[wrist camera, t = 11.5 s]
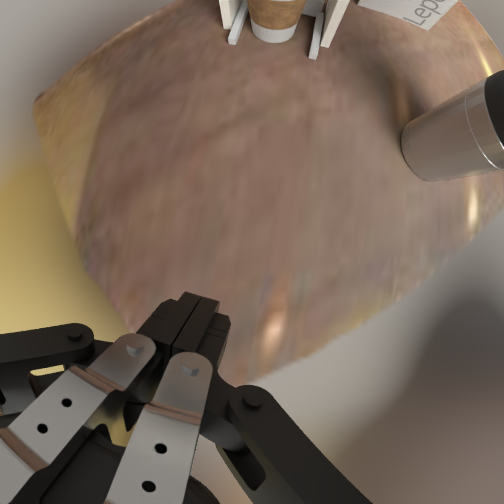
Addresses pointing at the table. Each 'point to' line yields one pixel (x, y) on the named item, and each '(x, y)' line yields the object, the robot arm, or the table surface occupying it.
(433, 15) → the tall white box
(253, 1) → the coffee cup
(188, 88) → the table surface
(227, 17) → the white rectangular frame
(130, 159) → the table surface
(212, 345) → the robot arm
